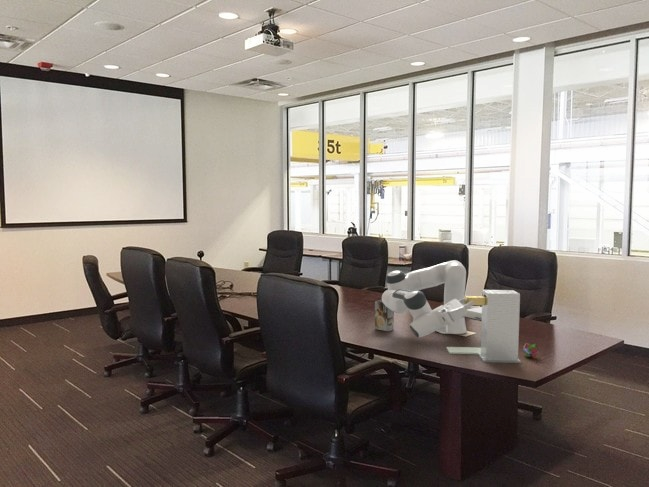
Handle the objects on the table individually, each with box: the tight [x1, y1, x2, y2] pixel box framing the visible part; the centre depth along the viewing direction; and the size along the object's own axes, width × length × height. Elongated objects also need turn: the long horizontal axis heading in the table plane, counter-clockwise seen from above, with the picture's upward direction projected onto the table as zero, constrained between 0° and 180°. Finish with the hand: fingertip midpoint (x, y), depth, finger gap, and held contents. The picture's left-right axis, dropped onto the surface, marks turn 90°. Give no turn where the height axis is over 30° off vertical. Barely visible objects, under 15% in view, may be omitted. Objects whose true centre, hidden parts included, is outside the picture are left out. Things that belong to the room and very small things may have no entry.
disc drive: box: [464, 306, 482, 321], centre depth 328 cm, size 18×22×5 cm
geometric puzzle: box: [522, 342, 540, 360], centre depth 242 cm, size 7×7×8 cm
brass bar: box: [464, 295, 486, 306], centre depth 237 cm, size 19×4×4 cm, turn 87°
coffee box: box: [374, 299, 395, 332], centre depth 294 cm, size 9×6×16 cm
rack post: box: [477, 289, 522, 364], centre depth 238 cm, size 16×11×31 cm
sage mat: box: [446, 346, 481, 355], centre depth 251 cm, size 22×9×1 cm, turn 87°
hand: (470, 300), depth 238 cm, fingers open, 8 cm apart
